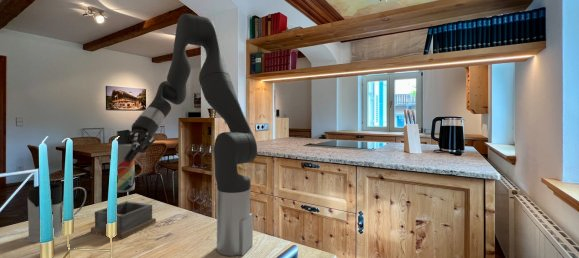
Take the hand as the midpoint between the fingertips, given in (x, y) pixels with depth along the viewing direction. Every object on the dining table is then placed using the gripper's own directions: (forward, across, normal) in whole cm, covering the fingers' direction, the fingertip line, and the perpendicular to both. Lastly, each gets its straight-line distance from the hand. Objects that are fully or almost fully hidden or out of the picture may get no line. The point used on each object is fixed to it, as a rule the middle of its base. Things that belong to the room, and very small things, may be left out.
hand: (119, 160), depth 85 cm
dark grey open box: (+15, 0, +17) cm, 23 cm away
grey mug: (+22, -16, +10) cm, 29 cm away
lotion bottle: (+6, 0, +9) cm, 11 cm away
